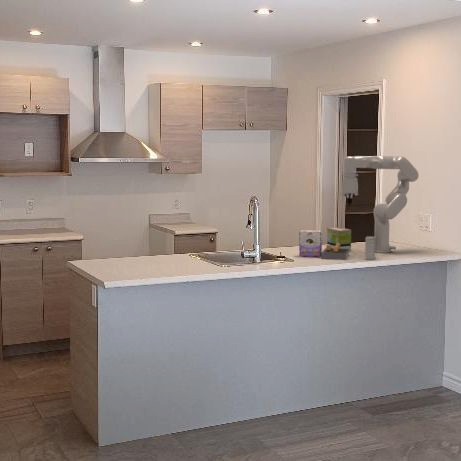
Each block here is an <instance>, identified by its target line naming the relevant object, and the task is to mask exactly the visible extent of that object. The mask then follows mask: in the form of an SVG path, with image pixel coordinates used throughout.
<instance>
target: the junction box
mask: <svg viewBox="0 0 461 461" xmlns="http://www.w3.org/2000/svg"><path fill="white" fill-rule="evenodd" d="M364 240H365V246H364V247H365V249H364V250H365V252H364V255H365V256H364V259H365V260H370V261H371V260H374V259H375V255H376V252H375V237H374V236H371V235H370V236H368V235H367V236H366V237H365V238H364Z"/></svg>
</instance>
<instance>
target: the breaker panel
mask: <svg viewBox="0 0 461 461" xmlns="http://www.w3.org/2000/svg"><path fill="white" fill-rule="evenodd" d="M349 256H350V251H349V249H338V252H336V251H334V248H331V250H326V247H325V248H324V249H322V252H321V257H320V258H321V260H338V259H340V260H344V261H346V260H347V259H348V257H349Z"/></svg>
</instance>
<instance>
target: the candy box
mask: <svg viewBox="0 0 461 461" xmlns="http://www.w3.org/2000/svg"><path fill="white" fill-rule="evenodd" d="M298 235H299V240H298V241H299V247H298V248H299V251H298V253H299V257H304V258H305V257H306V258H321V252H322V251H323V230H313V229H312V230H307V229H306V230H299V234H298Z"/></svg>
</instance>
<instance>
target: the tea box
mask: <svg viewBox="0 0 461 461" xmlns="http://www.w3.org/2000/svg"><path fill="white" fill-rule="evenodd" d="M326 229H327V230H326V231H327V232H326V236H327V238H326V245H328V244H329V245H331V248H334V246H336V244H340V249H349V252H351V251H352V229H350V228H349V229H348V228H343V227H339V226H338V227H328V228H326Z"/></svg>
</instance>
